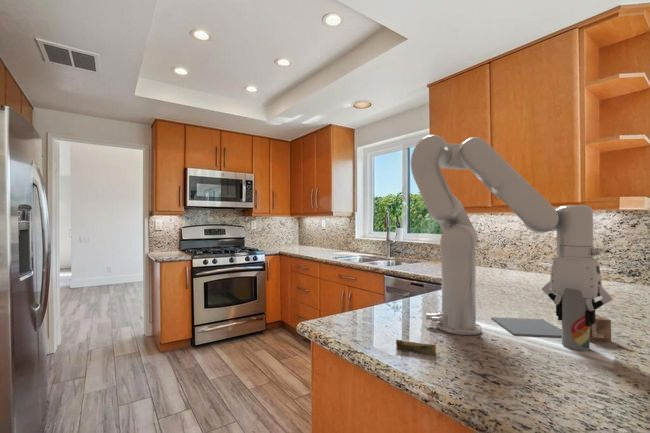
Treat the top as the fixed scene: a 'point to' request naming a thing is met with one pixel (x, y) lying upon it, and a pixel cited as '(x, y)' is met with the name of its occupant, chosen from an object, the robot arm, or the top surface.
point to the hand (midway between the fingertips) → (575, 321)
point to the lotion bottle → (574, 320)
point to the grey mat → (528, 327)
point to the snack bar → (416, 347)
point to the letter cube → (600, 330)
